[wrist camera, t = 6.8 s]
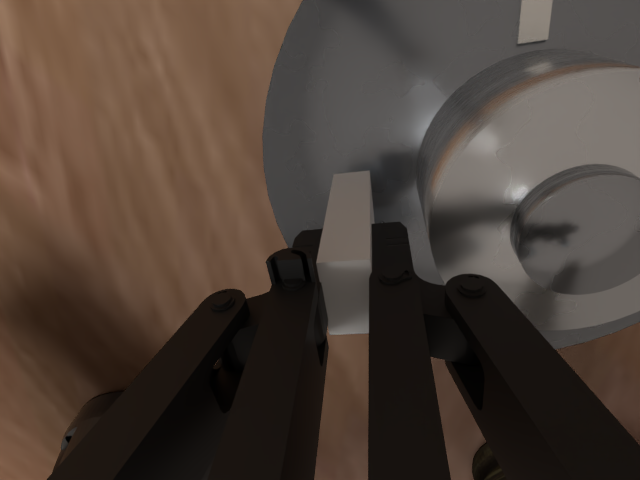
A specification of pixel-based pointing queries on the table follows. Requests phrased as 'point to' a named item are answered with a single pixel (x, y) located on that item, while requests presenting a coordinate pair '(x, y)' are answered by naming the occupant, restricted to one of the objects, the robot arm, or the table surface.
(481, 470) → the container
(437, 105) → the turntable
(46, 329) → the table surface
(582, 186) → the cover
